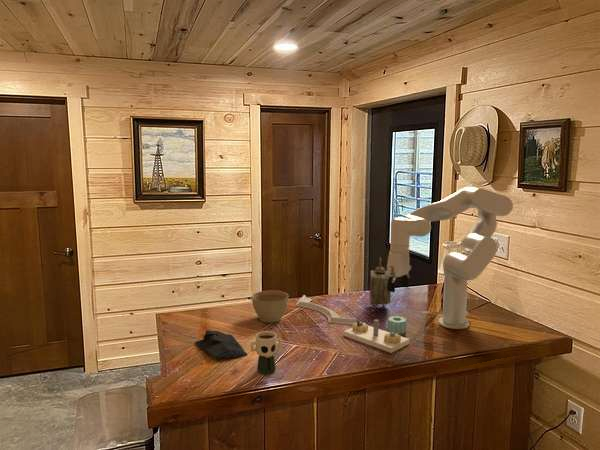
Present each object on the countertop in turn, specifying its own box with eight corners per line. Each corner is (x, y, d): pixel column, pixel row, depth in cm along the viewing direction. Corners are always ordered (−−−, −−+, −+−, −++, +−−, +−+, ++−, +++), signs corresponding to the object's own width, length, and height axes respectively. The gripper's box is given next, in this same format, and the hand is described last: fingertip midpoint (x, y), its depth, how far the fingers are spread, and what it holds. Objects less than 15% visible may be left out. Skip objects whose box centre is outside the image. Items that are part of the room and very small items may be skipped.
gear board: (362, 327, 200) (362, 309, 199) (408, 343, 184) (409, 324, 183) (343, 335, 192) (344, 316, 190) (391, 353, 176) (391, 332, 174)
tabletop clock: (369, 303, 231) (371, 253, 227) (388, 304, 230) (390, 254, 226) (370, 313, 217) (371, 260, 213) (390, 314, 216) (391, 261, 212)
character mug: (254, 378, 156) (253, 341, 154) (248, 369, 162) (247, 333, 160) (285, 373, 160) (285, 336, 158) (277, 364, 166) (277, 329, 164)
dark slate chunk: (209, 365, 166) (209, 352, 166) (194, 342, 186) (193, 331, 185) (250, 357, 173) (250, 344, 172) (231, 335, 193) (231, 324, 192)
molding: (361, 325, 206) (362, 318, 205) (339, 330, 199) (340, 323, 198) (306, 299, 240) (306, 293, 240) (286, 302, 234) (286, 297, 233)
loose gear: (394, 325, 203) (394, 314, 202) (409, 330, 197) (410, 319, 196) (383, 330, 197) (384, 319, 196) (399, 335, 192) (399, 323, 191)
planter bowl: (263, 311, 221) (263, 288, 219) (294, 316, 214) (294, 293, 212) (245, 322, 206) (244, 298, 205) (277, 328, 199) (277, 303, 198)
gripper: (403, 244, 200) (401, 283, 203) (379, 250, 188) (377, 291, 191) (419, 246, 195) (417, 286, 198) (395, 253, 183) (393, 295, 186)
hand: (397, 289), depth 194 cm, fingers open, 9 cm apart
